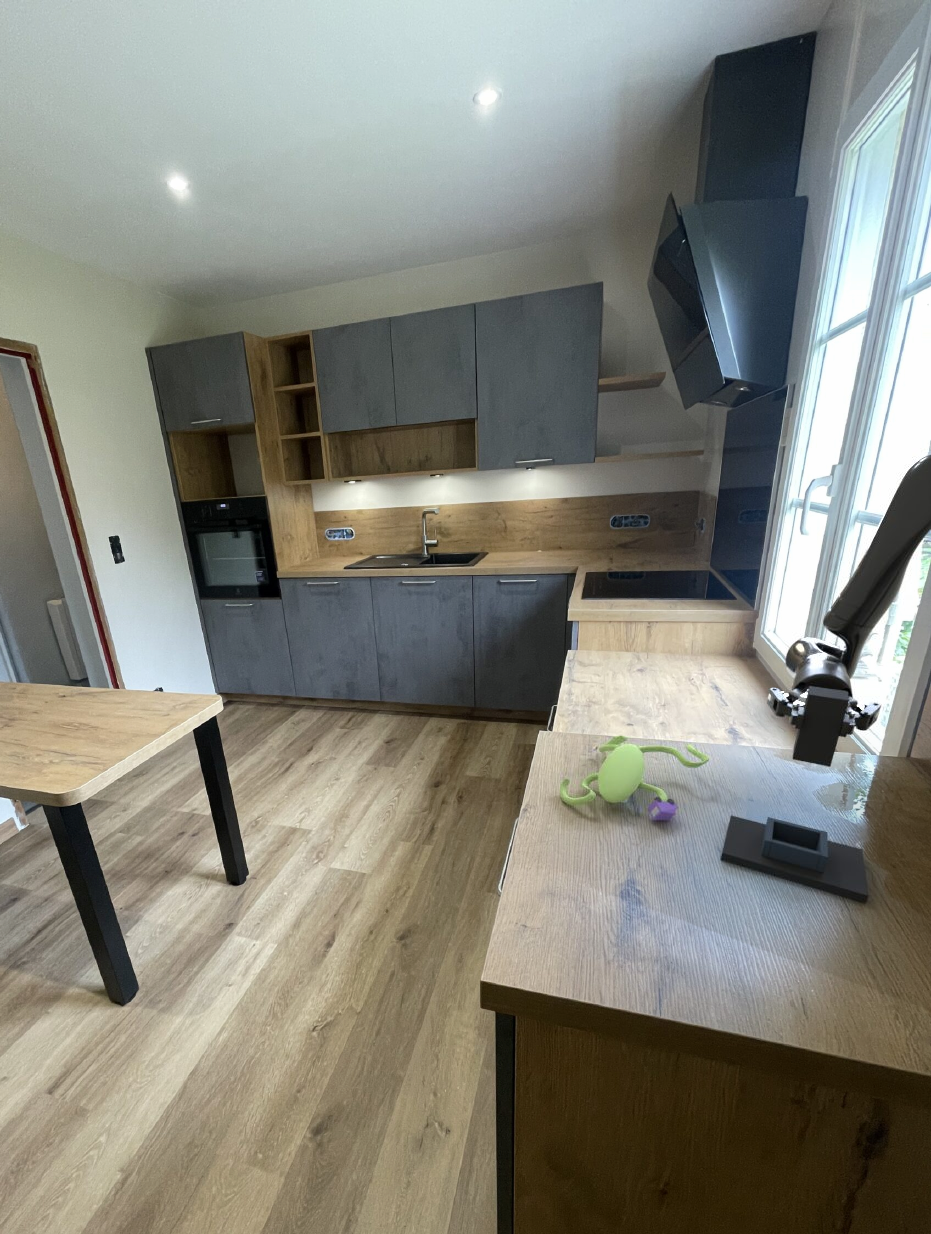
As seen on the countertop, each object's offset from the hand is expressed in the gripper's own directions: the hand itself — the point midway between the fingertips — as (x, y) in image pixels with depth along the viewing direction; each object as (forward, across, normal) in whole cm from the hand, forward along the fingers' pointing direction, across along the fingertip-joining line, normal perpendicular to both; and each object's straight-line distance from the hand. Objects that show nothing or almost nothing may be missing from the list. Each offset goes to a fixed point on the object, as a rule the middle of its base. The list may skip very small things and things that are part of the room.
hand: (821, 726), depth 75 cm
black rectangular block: (-3, 0, +6) cm, 7 cm away
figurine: (-3, -23, +18) cm, 30 cm away
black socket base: (+6, 0, +18) cm, 19 cm away
